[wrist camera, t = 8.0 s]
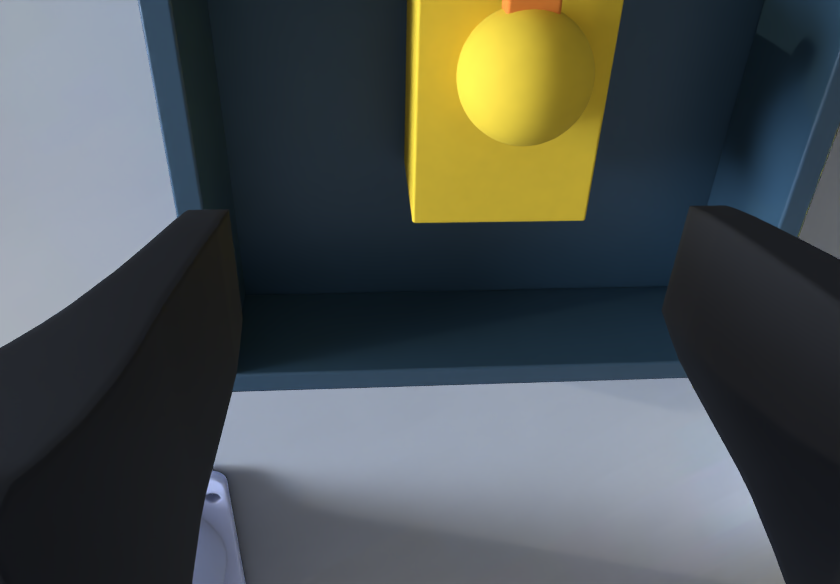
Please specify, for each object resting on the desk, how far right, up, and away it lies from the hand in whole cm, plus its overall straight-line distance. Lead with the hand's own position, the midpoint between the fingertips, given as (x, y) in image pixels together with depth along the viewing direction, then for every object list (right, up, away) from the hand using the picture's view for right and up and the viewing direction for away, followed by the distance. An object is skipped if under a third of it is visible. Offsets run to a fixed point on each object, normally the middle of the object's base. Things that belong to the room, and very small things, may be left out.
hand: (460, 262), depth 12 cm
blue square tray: (+1, +5, +7) cm, 9 cm away
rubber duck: (+1, +5, +6) cm, 8 cm away
